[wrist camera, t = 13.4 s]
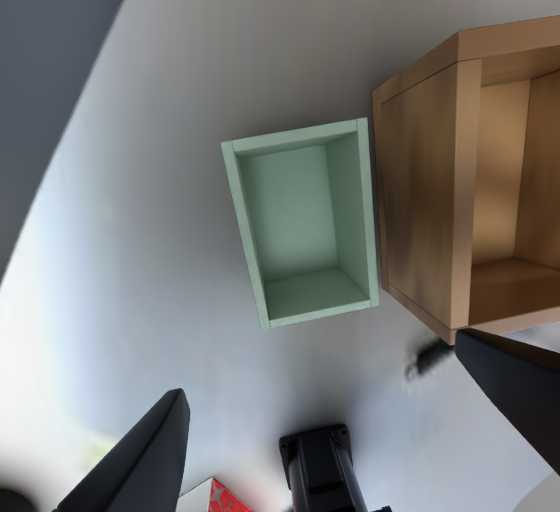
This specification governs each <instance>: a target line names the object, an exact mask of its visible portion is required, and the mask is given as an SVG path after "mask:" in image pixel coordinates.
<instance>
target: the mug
mask: <svg viewBox="0 0 560 512" xmlns="http://www.w3.org/2000/svg"><path fill="white" fill-rule="evenodd" d="M0 512H34V510H33V508H32V506H31V505H30V503H29V502H28V501H27V500H25V499H24V498H23V497H21V496H19V495H17V494H15V493H13V492H10V491H6V490H1V489H0Z"/></svg>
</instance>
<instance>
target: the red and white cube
mask: <svg viewBox="0 0 560 512" xmlns="http://www.w3.org/2000/svg"><path fill="white" fill-rule="evenodd" d="M176 512H254V511H253V510H251V509H250V508H249V507H248V506H246V505H245V504H244V503H243V502H242V501H240V500H239V499H238V498H237V497H235V496H234V495H233V494H232V493H231V492H229V491H228V490H227V489H226V488H225V487H224V486H222V485H221V484H220V483H219V482H217V481H216V480H215V479H214V478H213V477H211V478H210V479H208V480H207V481H205V482H204V483H202V484H200V485H199V486H197V487H196V488H194V489H192V490H191V491H189V492H188V493H186V494H185V495H183V496H181V497H180V498H178V502H177V507H176Z"/></svg>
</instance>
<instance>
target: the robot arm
mask: <svg viewBox="0 0 560 512" xmlns="http://www.w3.org/2000/svg"><path fill="white" fill-rule="evenodd" d="M455 354H456V356H457V358H458V360H459V361H460V362H461V363H462V365H463V366H464V367H465V369H466V370H467V371H468V372H469V374H470V375H471V376H472V378H473V379H474V380H475V381H476V383H477V384H478V385H479V387H480V388H481V389H482V391H483V392H484V393H485V394H486V396H487V397H488V398H489V399H490V400H491V402H492V403H493V404H494V405H495V406H496V407H497V408H498V410H499V411H500V412H501V413H502V414H503V415H504V416H505V417H506V418H507V419H508V420H509V422H510V423H511V424H512V425H513V426H514V427H515V428H516V429H517V430H518V431H519V432H520V434H521V435H522V436H523V437H524V438H525V439H526V440H527V441H528V442H529V443H530V444H531V446H532V447H533V448H534V449H535V450H536V451H537V452H538V453H539V454H540V455H541V456H542V458H543V459H544V460H545V461H546V462H547V463H548V464H549V465H550V466H551V467H552V468H553V469H554V471H555V472H556V473H557V474H558V475H559V476H560V353H557V352H554V351H550V350H547V349H543V348H540V347H536V346H533V345H529V344H526V343H522V342H519V341H516V340H512V339H509V338H505V337H502V336H498V335H495V334H491V333H488V332H484V331H481V330H477V329H474V328H470V327H468V328H463V329H458V330H457V331H456V333H455ZM189 422H190V408H189V405H188V402H187V399H186V396H185V393H184V390H183V389H182V388H178V389H173V390H169V391H168V392H166V393H165V395H164V396H163V397H162V398H161V399H160V400H159V401H158V402H157V403H156V404H155V405H154V406H153V407H152V408H151V409H150V410H149V411H148V412H147V413H146V414H145V415H144V416H143V417H142V418H141V419H140V420H139V422H138V423H137V424H136V425H135V426H134V427H133V428H132V429H131V430H130V431H129V432H128V433H127V434H126V435H125V436H124V437H123V438H122V439H121V440H120V441H119V442H118V443H117V444H116V445H115V446H114V447H113V449H112V450H111V451H110V452H109V453H108V454H107V455H106V456H105V457H104V458H103V459H102V460H101V461H100V462H99V463H98V464H97V465H96V466H95V467H94V468H93V469H92V470H91V471H90V472H89V473H88V474H87V475H86V477H85V478H84V479H83V480H82V481H81V482H80V483H79V484H78V485H77V486H76V487H75V488H74V489H73V490H72V491H71V492H70V493H69V494H68V495H67V496H66V497H65V498H64V499H63V500H62V501H61V502H60V503H59V505H58V506H57V509H54V510H53V511H52V512H176V507H177V502H178V498H179V493H180V488H181V483H182V478H183V473H184V466H185V458H186V449H187V440H188V431H189ZM279 449H280V453H281V457H282V461H283V466H284V470H285V474H286V479H287V483H288V487H289V490H290V491H291V492H292V500H293V507H294V512H368V510H367V508H366V505H365V502H364V499H363V496H362V493H361V490H360V488H359V485H358V482H357V479H356V476H355V473H354V470H353V462H352V454H351V446H350V437H349V431H348V428H347V426H346V425H344V424H341V425H337V426H333V427H328V428H324V429H320V430H315V431H311V432H307V433H302V434H298V435H294V436H289V437H285V438H282V439H280V440H279ZM372 512H392V510H391V508H390V506H385V507H382V509H380V510H376V511H372Z"/></svg>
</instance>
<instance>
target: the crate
mask: <svg viewBox="0 0 560 512" xmlns="http://www.w3.org/2000/svg"><path fill="white" fill-rule="evenodd" d="M372 101H373V119H374V136H375V154H376V172H377V189H378V207H379V225H380V242H381V260H382V278H383V289H384V290H385V291H386V292H388V293H389V294H390V295H391V296H392V297H393V298H395V299H396V300H397V301H398V302H399V303H401V304H402V305H403V306H404V307H405V308H407V309H408V310H409V311H410V312H411V313H412V314H414V315H415V316H416V317H417V318H418V319H420V320H421V321H422V322H423V323H424V324H425V325H427V326H428V327H429V328H430V329H431V330H433V331H434V332H435V333H436V334H437V335H438V336H440V337H441V338H442V339H443V340H444V341H446V342H447V343H448V344H449V345H454V344H455V333H456V331H457V330H458V329H463V328H468V327H470V328H474V329H477V330H481V331H484V332H488V333H491V334H495V335H499V334H504V333H508V332H513V331H518V330H522V329H527V328H531V327H536V326H540V325H545V324H549V323H554V322H559V321H560V15H557V16H550V17H544V18H537V19H531V20H525V21H518V22H512V23H505V24H499V25H492V26H486V27H479V28H473V29H467V30H460V31H458V32H457V33H455V34H454V35H452V36H451V37H449V38H448V39H447V40H445V41H444V42H442V43H441V44H439V45H438V46H437V47H435V48H434V49H432V50H431V51H429V52H428V53H427V54H425V55H424V56H422V57H421V58H419V59H418V60H417V61H415V62H414V63H412V64H411V65H409V66H408V67H407V68H405V69H404V70H402V71H401V72H399V73H398V74H397V75H395V76H394V77H392V78H391V79H389V80H388V81H387V82H385V83H384V84H382V85H381V86H379V87H378V88H377V89H375V90H374V91H372Z"/></svg>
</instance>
